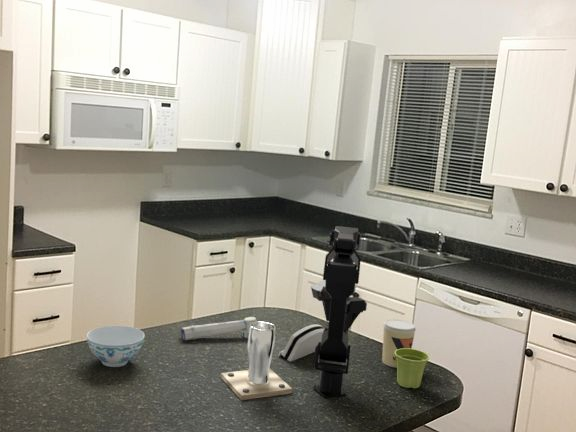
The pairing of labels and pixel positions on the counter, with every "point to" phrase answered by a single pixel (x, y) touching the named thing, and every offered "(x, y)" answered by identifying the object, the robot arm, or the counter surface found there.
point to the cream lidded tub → (396, 339)
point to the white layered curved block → (303, 342)
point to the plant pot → (410, 367)
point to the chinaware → (115, 344)
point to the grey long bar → (217, 329)
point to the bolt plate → (250, 391)
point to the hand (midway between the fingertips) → (336, 326)
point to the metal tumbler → (260, 352)
